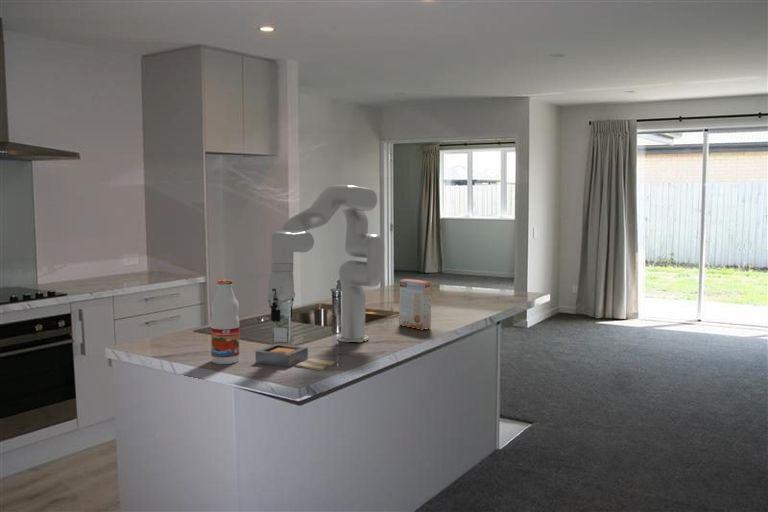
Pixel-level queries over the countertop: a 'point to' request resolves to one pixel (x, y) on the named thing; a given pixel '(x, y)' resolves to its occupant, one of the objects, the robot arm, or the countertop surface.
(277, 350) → the button
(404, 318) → the cracker box
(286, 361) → the frame
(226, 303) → the fruit juice
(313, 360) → the cork coaster
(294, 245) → the robot arm
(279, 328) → the syrup box
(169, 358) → the countertop surface
